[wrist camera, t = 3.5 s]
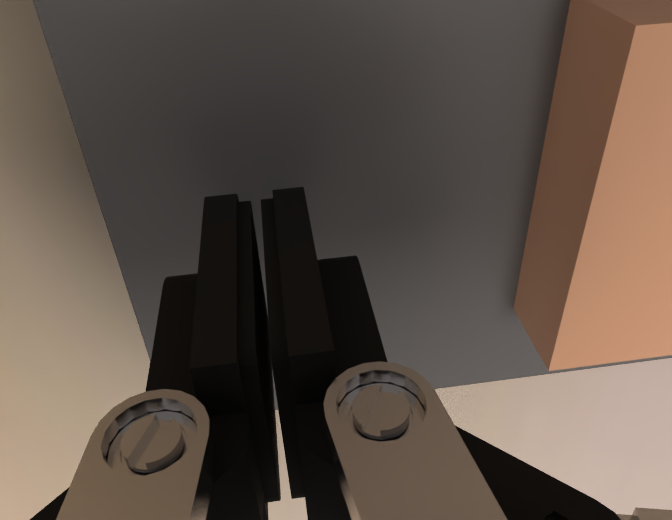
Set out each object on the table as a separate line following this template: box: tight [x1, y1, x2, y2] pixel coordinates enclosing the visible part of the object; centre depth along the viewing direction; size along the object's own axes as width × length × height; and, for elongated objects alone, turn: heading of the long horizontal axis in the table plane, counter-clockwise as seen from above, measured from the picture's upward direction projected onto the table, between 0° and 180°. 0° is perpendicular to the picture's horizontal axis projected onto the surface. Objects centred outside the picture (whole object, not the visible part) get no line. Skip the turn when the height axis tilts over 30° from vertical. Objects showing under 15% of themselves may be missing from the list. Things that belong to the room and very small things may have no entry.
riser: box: [33, 0, 672, 410], centre depth 13 cm, size 12×20×2 cm, turn 92°
